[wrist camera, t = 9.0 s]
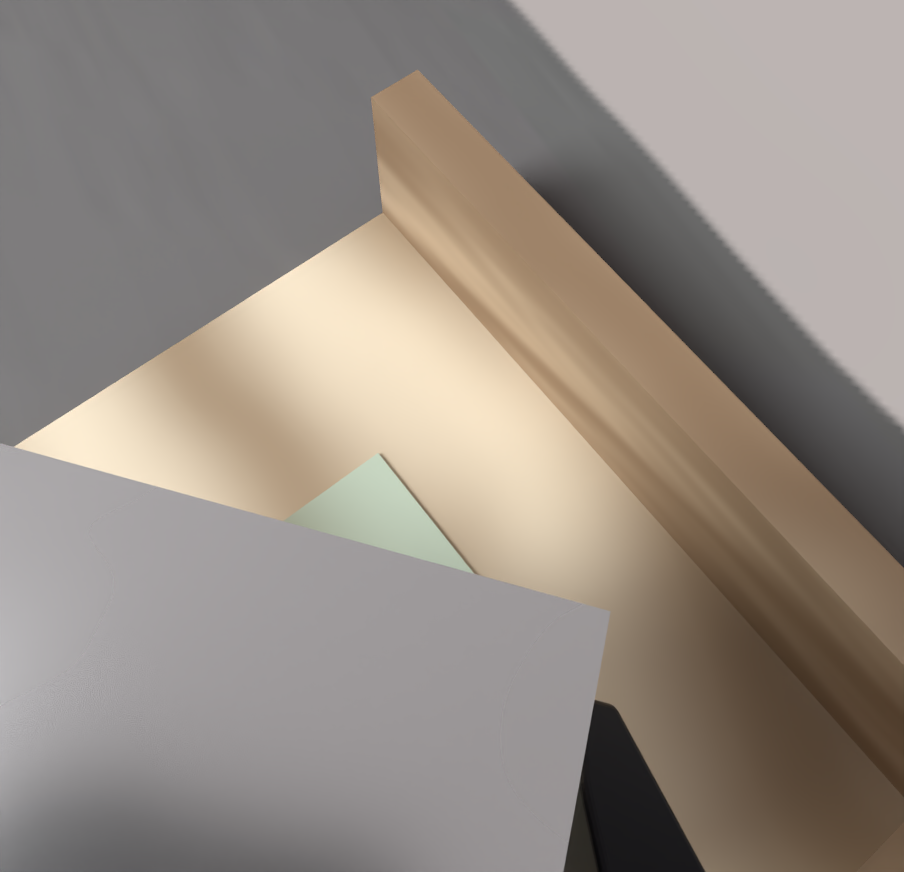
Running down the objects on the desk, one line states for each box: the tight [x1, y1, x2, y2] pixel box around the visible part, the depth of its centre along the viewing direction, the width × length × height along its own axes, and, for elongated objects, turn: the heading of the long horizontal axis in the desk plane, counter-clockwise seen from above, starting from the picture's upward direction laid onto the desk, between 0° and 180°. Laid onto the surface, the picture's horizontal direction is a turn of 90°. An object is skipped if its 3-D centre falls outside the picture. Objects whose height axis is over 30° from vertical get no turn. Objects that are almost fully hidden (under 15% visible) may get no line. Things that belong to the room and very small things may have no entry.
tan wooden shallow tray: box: [15, 70, 904, 872], centre depth 15 cm, size 16×19×4 cm
